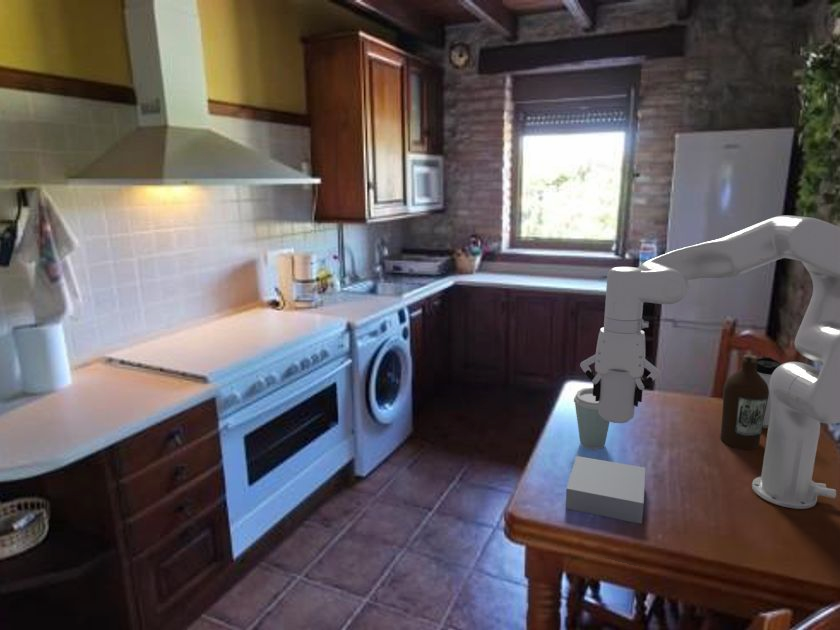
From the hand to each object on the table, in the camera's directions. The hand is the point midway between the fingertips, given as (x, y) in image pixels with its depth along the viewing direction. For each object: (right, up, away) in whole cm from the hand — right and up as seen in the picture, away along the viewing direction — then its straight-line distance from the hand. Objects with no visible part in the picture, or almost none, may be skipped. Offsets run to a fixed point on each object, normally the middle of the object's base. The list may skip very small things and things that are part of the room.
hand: (616, 401), depth 122 cm
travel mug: (+58, -14, +42) cm, 73 cm away
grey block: (0, -23, +6) cm, 24 cm away
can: (0, -4, +1) cm, 4 cm away
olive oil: (+45, -16, +31) cm, 58 cm away
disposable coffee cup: (+4, -17, +32) cm, 36 cm away
